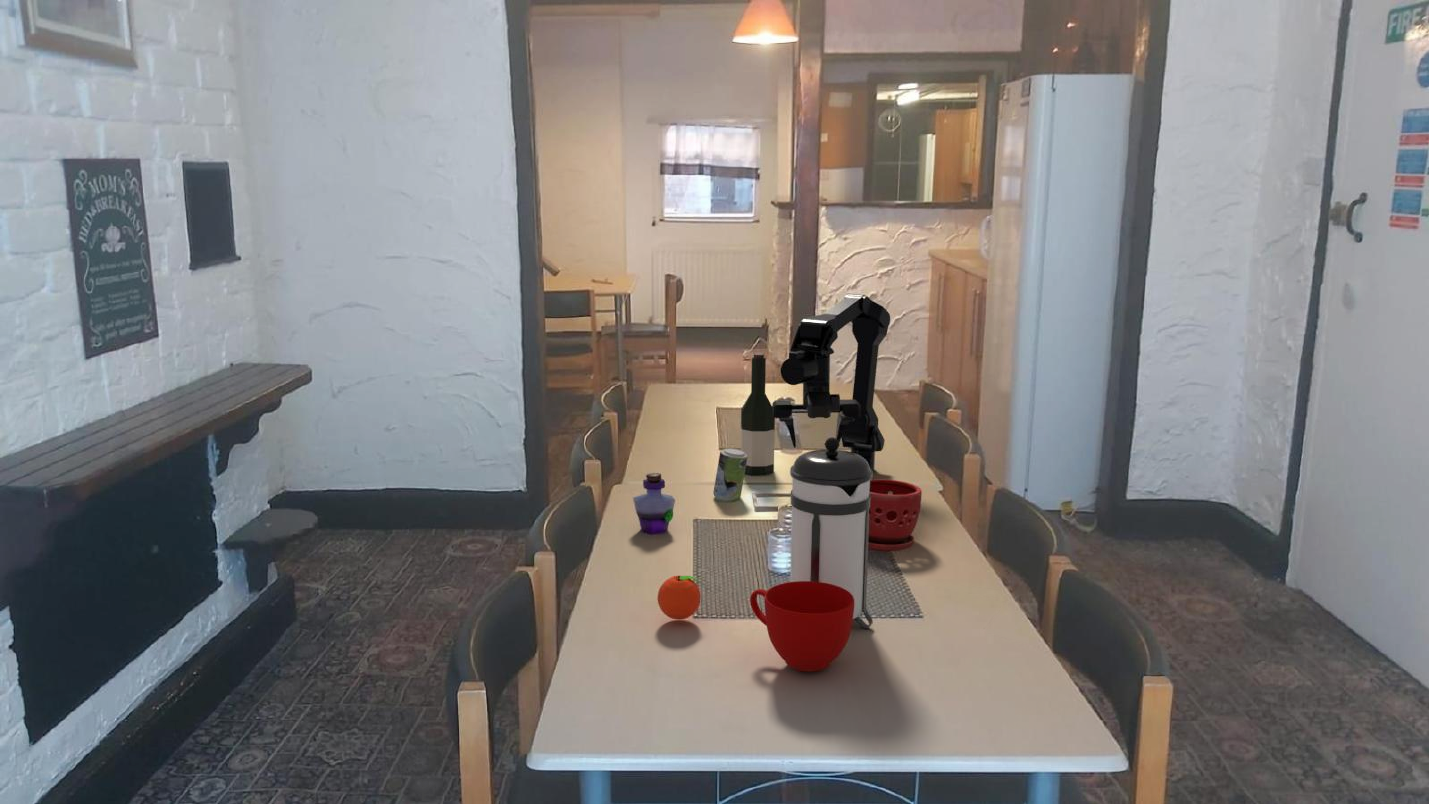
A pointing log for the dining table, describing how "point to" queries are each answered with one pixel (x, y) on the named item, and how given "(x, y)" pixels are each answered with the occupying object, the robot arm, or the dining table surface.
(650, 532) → the potion bottle
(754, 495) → the board
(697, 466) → the dining table surface
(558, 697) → the dining table surface
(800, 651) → the ceramic cup
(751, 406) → the wine bottle
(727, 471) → the beverage can
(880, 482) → the plant pot
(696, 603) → the clementine
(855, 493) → the coffee press
